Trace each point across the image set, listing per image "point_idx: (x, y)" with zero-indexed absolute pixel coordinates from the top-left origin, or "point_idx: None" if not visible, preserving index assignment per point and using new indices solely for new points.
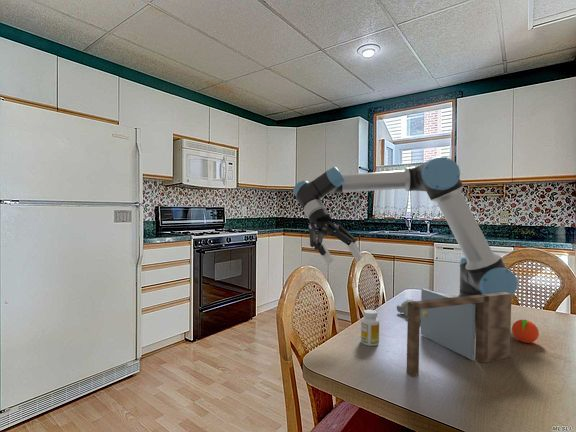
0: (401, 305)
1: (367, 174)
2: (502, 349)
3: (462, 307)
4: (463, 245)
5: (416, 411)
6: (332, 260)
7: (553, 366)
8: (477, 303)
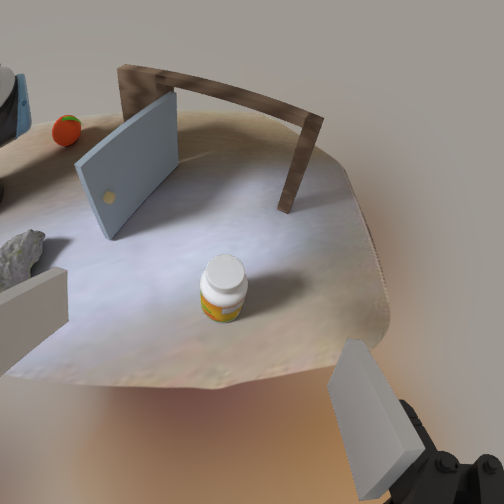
0: None
1: None
2: None
3: (163, 110)
4: None
5: (351, 188)
6: (346, 347)
7: None
8: (166, 88)
